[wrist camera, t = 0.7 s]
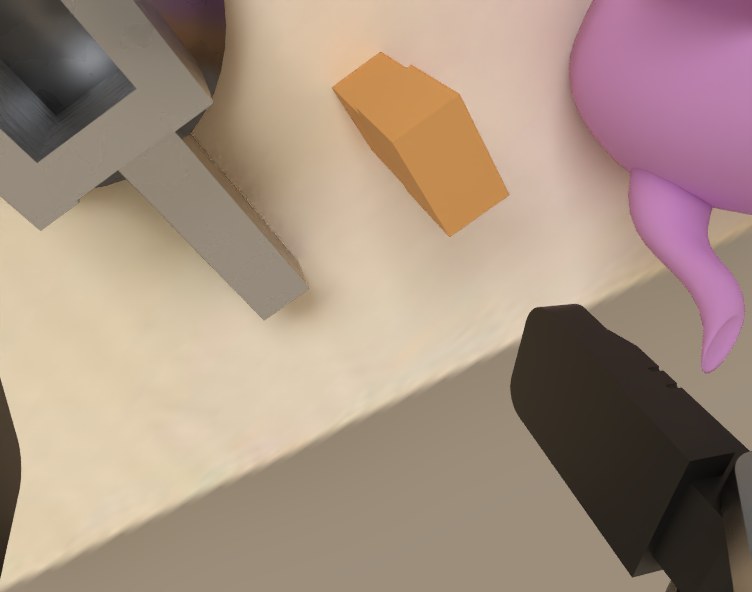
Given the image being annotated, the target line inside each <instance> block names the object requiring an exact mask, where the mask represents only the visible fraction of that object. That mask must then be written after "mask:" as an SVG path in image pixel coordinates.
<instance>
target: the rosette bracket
mask: <svg viewBox="0 0 752 592" xmlns="http://www.w3.org/2000/svg"><path fill="white" fill-rule="evenodd" d="M225 30H226V23H225V10H224V0H0V196H1V197H2V198H3V199H4V200H5V201H6V202H8V203H9V204H10V205H11V206H12V207H13V208H15V209H16V210H17V211H18V212H19V213H20V214H21V215H23V216H24V217H25V218H26V219H27V220H28V221H30V222H31V223H32V224H33V225H34V226H35V227H36V228H38V229H39V230H40V231H41V230H43V229H44V228H45V227H47V226H48V225H49V224H51V223H52V222H53V221H55V220H56V219H57V218H59V217H60V216H62V215H63V214H64V213H66V212H67V211H68V210H70V209H71V208H72V207H74V206H75V205H76V204H78V203H79V200H80V198H81V197H82V196H84V195H85V194H87V193H88V192H89V191H91V190H92V189H93V188H97V187H102V186H106V185H109V184H113V183H116V182H119V181H122V180H125V179H127V180H128V181H129V182H130V183H131V184H132V185H133V186H134V187H135V188H136V189H137V190H138V191H139V192H140V193H141V194H142V195H143V196H144V197H145V198H146V199H147V200H148V202H149V203H150V204H151V205H152V206H153V207H154V208H155V209H156V210H157V211H158V212H159V213H160V214H161V215H162V216H163V217H164V218H165V219H166V220H167V221H168V222H169V223H170V224H171V225H172V226H173V227H174V228H175V229H176V230H177V231H178V232H179V233H180V234H181V236H182V237H183V238H184V239H185V240H186V241H187V242H188V243H189V244H190V245H191V246H192V247H193V248H194V249H195V250H196V251H197V252H198V253H199V254H200V255H201V256H202V257H203V258H204V259H205V260H206V261H207V262H208V263H209V264H210V265H211V266H212V267H213V268H214V270H215V271H216V272H217V273H218V274H219V275H220V276H221V277H222V278H223V279H224V280H225V281H226V282H227V283H228V284H229V285H230V286H231V287H232V288H233V289H234V290H235V291H236V292H237V293H238V294H239V295H240V296H241V297H242V298H243V299H244V300H245V301H246V302H247V304H248V305H249V306H250V307H251V308H252V309H253V310H254V311H255V312H256V313H257V314H258V315H259V316H260V317H261V318H262V319H263V320H266V319H267V318H269V317H270V316H271V315H273V314H274V313H276V312H277V311H278V310H280V309H281V308H283V307H284V306H285V305H287V304H288V303H290V302H291V301H292V300H294V299H295V298H297V297H298V296H300V295H301V294H302V293H304V292H305V291H307V290H308V289H309V287H308V284H307V282H306V280H305V277H304V275H303V273H302V270H301V268H300V266H299V264H298V262H297V261H296V259H295V258H294V257H293V256H292V255H291V253H290V252H289V251H288V250H287V249H286V247H285V246H284V245H283V244H282V243H281V242H280V240H279V239H278V238H277V237H276V236H275V234H274V233H273V232H272V231H271V230H270V228H269V227H268V226H267V225H266V224H265V223H264V221H263V220H262V219H261V218H260V217H259V215H258V214H257V213H256V212H255V211H254V210H253V208H252V207H251V206H250V205H249V204H248V202H247V201H246V200H245V199H244V198H243V196H242V195H241V194H240V193H239V192H238V191H237V189H236V188H235V187H234V186H233V185H232V183H231V182H230V181H229V180H228V179H227V177H226V176H225V175H224V174H223V173H222V172H221V170H220V169H219V168H218V167H217V166H216V164H215V163H214V162H213V161H212V160H211V158H210V157H209V156H208V155H207V154H206V153H205V151H204V150H203V149H202V148H201V147H200V145H199V144H198V143H197V142H196V141H195V139H194V138H193V137H192V136H191V135H190V132H191V131H192V130H193V129H194V127H195V126H196V124H197V123H198V121H199V120H200V118H201V117H202V115H203V114H204V112H205V110H206V108H208V107H209V106H210V105H212V104H213V100H212V96H213V94H214V91H215V88H216V84H217V81H218V78H219V75H220V72H221V66H222V61H223V55H224V50H225Z"/></svg>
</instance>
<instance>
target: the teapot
mask: <svg viewBox="0 0 752 592" xmlns="http://www.w3.org/2000/svg"><path fill="white" fill-rule="evenodd" d="M569 71H570V72H569V74H570V85H571V90H572V94H573V97H574V101H575V104H576V107H577V109H578V112H579V114H580V115H581V117H582V119H583V121H584V122H585V124H586V126H587V128H588V129H589V130H590V132H591V133H592V134H593V136H594V137H595V138H596V139H597V141H598V142H599V143H600V144H601V145H602V147H603V148H604V149H605V150H606V151H607V152H608V153H609V154H610V155H611V157H612V158H613V159H614V160H615V161H616V162H618V163H619V164H620V165H621V166H622V167H623V168H625V169H626V170H627V171H629V172H630V173H631V175H630V185H629V194H628V197H629V207H630V215H631V217H632V220H633V223H634V225H635V228H636V231H637V232H638V234H639V235H640V237H641V238H642V240H643V242H644V243H645V245H646V246H647V247H648V248H649V249H650V250H651V251H652V252H653V254H654V255H655V256H656V257H657V258H658V259H659V260H660V261H661V262H662V263H663V264H664V265H665V266H666V267H667V268H668V269H669V270H670V271H671V272H672V273H673V274H674V275H675V276H676V277H677V278H678V279H679V280H680V281H681V282H682V284H683V285H684V286H685V287H686V289H687V290H688V291H689V292H690V294H691V295H692V297H693V299H694V301H695V303H696V305H697V307H698V309H699V311H700V316H701V320H702V325H703V344H702V355H701V367H702V371H703V372H704V373H710V372H712V371H714V370H715V369H716V368H717V367H718V366H719V365H720V364H721V363H722V362H723V361H724V359H725V358H726V356H727V355H728V354H729V352H730V351H731V349H732V347H733V346H734V344H735V342H736V340H737V338H738V336H739V333H740V331H741V328H742V325H743V321H744V315H745V305H744V299H743V294H742V291H741V289H740V287H739V284H738V282H737V281H736V279H735V278H734V276H733V275H732V273H731V272H730V271H729V270H728V268H727V267H726V266H725V265H724V264H723V263H722V262H721V261H720V260H719V258H718V257H717V256H716V255H715V253H714V251H713V250H712V248H711V246H710V243H709V240H708V224H709V218H710V214H711V211H712V207H713V208H718V209H723V210H728V211H734V212H739V213H744V214H750V215H752V0H593V2H592V4H591V6H590V8H589V10H588V12H587V14H586V16H585V18H584V20H583V22H582V24H581V27H580V29H579V32H578V34H577V36H576V39H575V41H574V44H573V48H572V52H571V55H570V67H569Z"/></svg>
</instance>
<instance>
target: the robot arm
mask: <svg viewBox="0 0 752 592" xmlns="http://www.w3.org/2000/svg"><path fill="white" fill-rule="evenodd" d="M510 388H511V398H512V402H513V405H514V408H515V410H516V412H517V414H518V416H519V417H520V419H521V420H522V422H523V423H524V424H525V426H526V427H527V429H528V430H529V432H530V433H531V434H532V436H533V437H534V439H535V440H536V441H537V443H538V444H539V446H540V447H541V449H542V450H543V451H544V453H545V454H546V456H547V457H548V459H549V460H550V461H551V463H552V464H553V465H554V467H555V468H556V470H557V471H558V473H559V474H560V475H561V477H562V478H563V480H564V481H565V483H566V484H567V485H568V487H569V488H570V489H571V491H572V493H573V494H574V495H575V497H576V498H577V500H578V501H579V503H580V504H581V505H582V507H583V508H584V510H585V511H586V512H587V514H588V515H589V517H590V518H591V519H592V521H593V522H594V524H595V525H596V527H597V528H598V530H599V531H600V532H601V534H602V535H603V536H604V538H605V539H606V541H607V542H608V544H609V545H610V546H611V548H612V549H613V551H614V552H615V554H616V555H617V556H618V558H619V559H620V561H621V562H622V564H623V565H624V566H625V568H626V569H627V571H628V572H629V574H630V575H631V576H632V577H636V576H640V575H643V574H647V573H651V572H655V571H659V570H664V571H665V573H666V574H667V575H668V577H669V578H670V579H671V581H670V583H669V585H668V587H667V589H666V592H752V451H749V450H748V449H747V448H746V447H745V446H744V445H743V444H742V443H741V442H739V441H738V440H737V439H736V438H735V437H734V436H733V435H732V434H731V433H730V432H729V431H728V430H727V429H725V428H724V427H723V426H722V425H721V424H720V423H719V422H718V421H717V420H716V419H715V418H714V417H713V416H711V415H710V414H709V413H708V412H707V411H706V410H705V409H704V408H703V407H702V406H701V405H700V404H699V403H697V402H696V401H695V400H694V399H693V398H692V397H691V396H690V395H689V394H688V393H687V392H686V391H685V390H684V389H683V388H678V387H677V383H676V382H675V381H674V380H673V379H672V378H671V377H670V376H669V375H668V374H666V373H665V372H664V371H660V370H659V366H658V365H657V364H656V363H655V362H654V361H652V360H651V359H650V358H649V357H648V356H647V355H646V354H645V353H644V352H642V350H641V349H640V348H638V347H637V346H636V345H634V344H632V343H631V342H629V341H627V340H625V339H624V338H622V337H620V336H618V335H617V334H615V333H613V332H611V331H610V330H607V329H606V328H605V327H604V326H603V325H602V324H601V323H600V322H599V321H598V320H597V319H596V318H595V317H594V316H592V315H591V314H590V313H589V312H588V311H587V310H586V309H585V308H584V307H583V306H581V305H579V304H568V305H558V306H547V307H537V308H534V309H533V310H532V311H531V312H530V313H529V315H528V317H527V320H526V324H525V328H524V331H523V335H522V339H521V343H520V347H519V350H518V354H517V358H516V362H515V366H514V370H513V374H512V378H511V385H510ZM20 482H21V456H20V448H19V443H18V439H17V436H16V432H15V428H14V425H13V421H12V418H11V414H10V411H9V407H8V404H7V400H6V397H5V393H4V390H3V386H2V382H1V379H0V577H1V573H2V568H3V563H4V559H5V554H6V549H7V545H8V540H9V536H10V531H11V526H12V522H13V517H14V512H15V508H16V503H17V499H18V494H19V489H20Z"/></svg>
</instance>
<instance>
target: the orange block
mask: <svg viewBox="0 0 752 592" xmlns="http://www.w3.org/2000/svg"><path fill="white" fill-rule="evenodd" d="M332 88H333V90H334V91H335V93H336V95H337V96H338V98H339V99H340V101H341V102H342V104H343V106H344V107H345V109H346V110H347V112H348V113H349V115H350V117H351V118H352V120H353V121H354V123H355V124H356V126H357V128H358V129H359V131H360V132H361V134H362V135H363V137H364V139H365V140H366V142H367V143H368V145H369V146H370V148H371V150H372V151H373V152H374V153H375V154H376V155H377V156H378V157H379V158H380V159H381V160H382V162H383V163H384V164H385V165H386V166H387V167H388V168H389V169H390V170H391V171H392V172H393V173H394V175H395V176H396V177H397V178H398V179H399V180H400V181H401V182H402V183H403V185H404V186H405V188H406V189H407V191H408V192H409V193H410V194H411V196H412V197H413V198H414V199H415V200H416V201H417V202H418V203H419V204H420V205H421V206H422V208H423V209H424V210H425V211H426V212H427V213H428V214H429V215H430V216H431V217H432V218H433V220H434V221H435V222H436V223H437V224H438V225H439V226H440V227H441V228H442V229H443V231H444V232H445V233H446V234H447V235H448V236H449V237H450V236H452V235H453V234H455V233H456V232H457V231H459V230H460V229H462V228H463V227H465V226H466V225H467V224H469V223H470V222H472V221H473V220H475V219H476V218H477V217H479V216H480V215H482V214H483V213H484V212H486V211H487V210H489V209H490V208H492V207H493V206H494V205H496V204H497V203H499V202H500V201H501V200H503V199H504V198H506V197H507V196H509V193H508V191H507V189H506V187H505V185H504V183H503V181H502V179H501V177H500V175H499V173H498V171H497V169H496V167H495V165H494V163H493V161H492V159H491V157H490V155H489V153H488V150H487V148H486V146H485V144H484V142H483V140H482V138H481V136H480V134H479V132H478V130H477V128H476V126H475V124H474V122H473V120H472V118H471V116H470V114H469V112H468V110H467V108H466V106H465V104H464V102H463V100H462V98H461V96H460V94H459V93H457V92H455V91H454V90H452V89H450V88H449V87H447V86H446V85H444V84H442V83H441V82H439V81H437V80H436V79H434V78H432V77H431V76H429V75H428V74H426V73H424V72H423V71H421V70H419V69H418V68H416V67H415V66H413V65H410V66H409V67H408V68H406V67H404V66H403V65H401V64H399V63H398V62H396V61H395V60H393V59H392V58H390V57H388V56H387V55H385V54H384V53H382V52H380V53H379V54H377V55H376V56H374V57H373V58H372V59H370V60H369V61H368V62H366V63H365V64H364V65H362V66H361V67H359V68H358V69H357V70H355V71H354V72H353V73H351V74H350V75H348V76H347V77H346V78H344V79H343V80H342V81H340V82H339V83H338V84H336V85H335V86H333V87H332Z"/></svg>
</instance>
